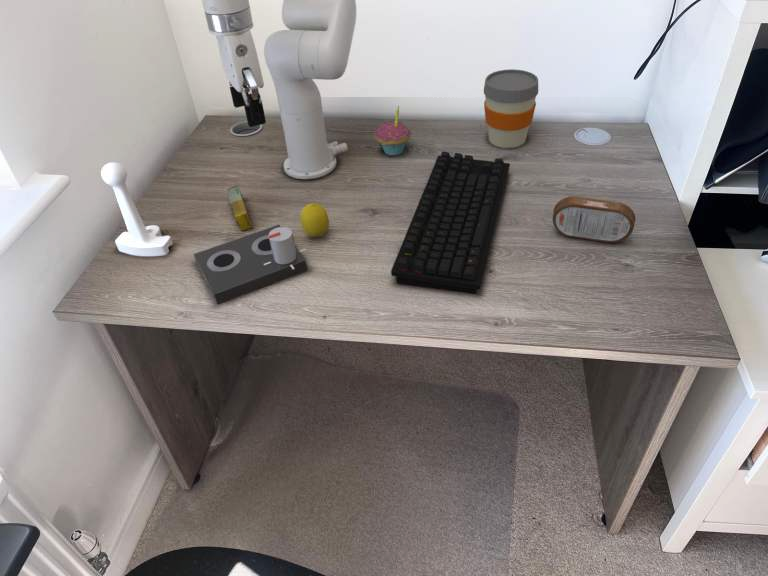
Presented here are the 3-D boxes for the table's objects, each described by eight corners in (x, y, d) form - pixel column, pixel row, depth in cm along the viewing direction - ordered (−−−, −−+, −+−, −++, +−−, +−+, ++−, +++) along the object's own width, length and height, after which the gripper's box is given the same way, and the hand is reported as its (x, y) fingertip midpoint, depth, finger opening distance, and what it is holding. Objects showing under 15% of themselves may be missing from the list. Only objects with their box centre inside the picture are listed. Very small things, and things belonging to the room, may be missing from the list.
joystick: (115, 253, 127) (76, 168, 113) (134, 231, 132) (99, 147, 119) (163, 258, 124) (130, 171, 111) (181, 236, 130) (151, 150, 116)
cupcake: (416, 145, 152) (414, 99, 144) (402, 162, 147) (400, 115, 139) (384, 140, 155) (381, 94, 147) (370, 156, 150) (365, 110, 142)
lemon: (326, 245, 124) (321, 212, 119) (300, 243, 125) (294, 210, 120) (334, 229, 128) (329, 196, 123) (308, 227, 129) (302, 195, 124)
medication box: (232, 203, 138) (226, 188, 135) (244, 199, 138) (238, 184, 136) (240, 231, 129) (234, 216, 126) (253, 227, 129) (247, 212, 127)
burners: (277, 231, 124) (277, 231, 124) (289, 248, 120) (289, 247, 120) (203, 257, 119) (202, 257, 119) (212, 275, 115) (212, 275, 115)
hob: (287, 231, 128) (285, 221, 127) (316, 271, 118) (314, 260, 116) (196, 263, 122) (193, 253, 120) (219, 308, 112) (215, 297, 110)
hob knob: (291, 247, 120) (286, 222, 116) (300, 259, 117) (295, 234, 113) (270, 255, 119) (264, 230, 115) (278, 267, 116) (273, 242, 112)
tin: (630, 238, 119) (639, 202, 114) (629, 248, 117) (639, 211, 112) (551, 227, 124) (556, 191, 118) (549, 236, 121) (554, 200, 116)
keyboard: (480, 297, 110) (481, 276, 106) (391, 285, 113) (389, 264, 110) (509, 174, 140) (510, 154, 136) (438, 167, 144) (438, 148, 140)
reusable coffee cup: (503, 122, 158) (507, 64, 149) (543, 137, 151) (550, 78, 141) (470, 140, 152) (472, 81, 143) (511, 157, 145) (516, 96, 135)
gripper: (266, 28, 99) (283, 127, 110) (237, 3, 112) (255, 94, 123) (220, 38, 97) (243, 138, 108) (196, 11, 109) (218, 103, 120)
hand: (249, 114), depth 115 cm, fingers open, 9 cm apart
